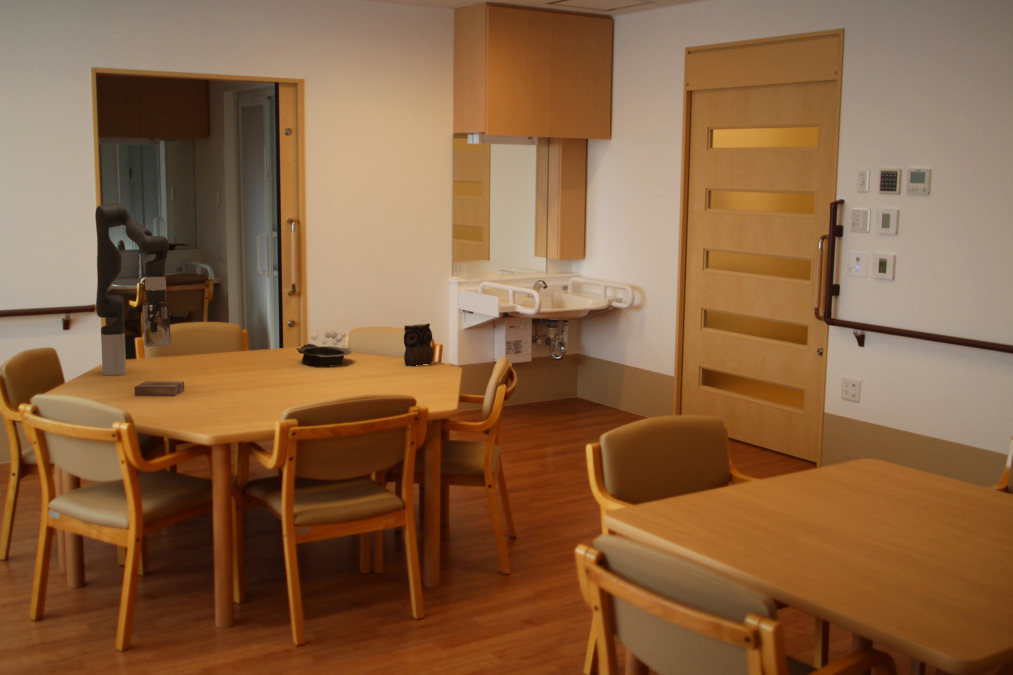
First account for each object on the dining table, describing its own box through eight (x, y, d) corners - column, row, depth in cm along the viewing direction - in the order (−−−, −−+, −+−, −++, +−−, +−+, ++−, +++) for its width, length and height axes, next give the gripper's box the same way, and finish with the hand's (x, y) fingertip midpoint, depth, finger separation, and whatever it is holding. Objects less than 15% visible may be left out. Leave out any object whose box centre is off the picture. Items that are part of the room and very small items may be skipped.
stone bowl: (285, 366, 447) (285, 346, 446) (328, 360, 466) (328, 341, 465) (319, 372, 431) (319, 351, 430) (363, 366, 450) (362, 346, 449)
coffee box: (168, 343, 380) (167, 302, 378) (171, 345, 374) (169, 304, 372) (143, 345, 376) (142, 303, 374) (145, 347, 370) (144, 304, 368)
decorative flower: (305, 354, 487) (304, 326, 485) (350, 354, 489) (350, 326, 487) (298, 362, 462) (298, 332, 460) (346, 362, 464) (346, 332, 462)
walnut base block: (145, 391, 383) (145, 381, 383) (184, 391, 384) (184, 381, 383) (134, 396, 371) (134, 386, 371) (174, 397, 372) (174, 386, 371)
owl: (434, 365, 454) (434, 322, 451) (424, 369, 442) (425, 325, 439) (409, 364, 457) (409, 321, 455) (398, 368, 445) (398, 324, 443)
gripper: (151, 287, 379) (152, 328, 381) (139, 289, 365) (141, 333, 367) (171, 287, 380) (172, 328, 382) (160, 289, 365) (161, 333, 367)
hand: (157, 330), depth 374 cm, fingers closed on coffee box, 8 cm apart
